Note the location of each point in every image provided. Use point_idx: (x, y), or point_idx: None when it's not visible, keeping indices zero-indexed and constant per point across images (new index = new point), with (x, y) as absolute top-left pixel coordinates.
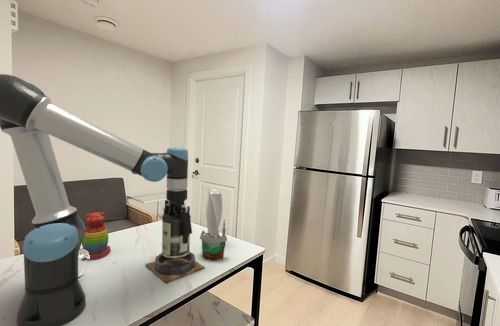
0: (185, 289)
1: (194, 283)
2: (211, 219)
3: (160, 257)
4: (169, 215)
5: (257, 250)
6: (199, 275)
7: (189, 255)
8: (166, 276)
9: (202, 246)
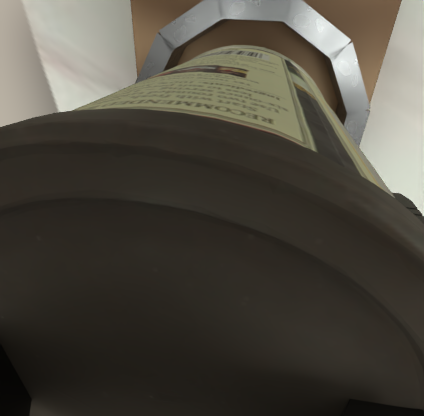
0: (45, 29)
1: (71, 92)
2: None
3: (334, 75)
4: (357, 400)
5: None
6: None
7: None
8: (173, 10)
9: None
